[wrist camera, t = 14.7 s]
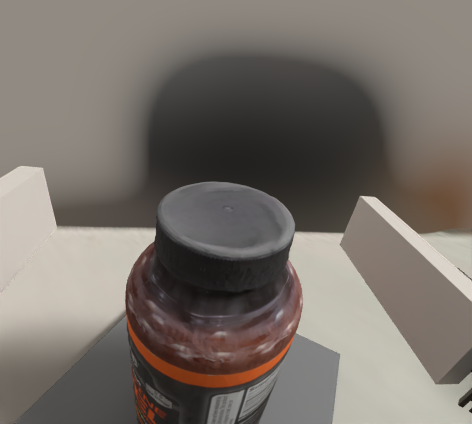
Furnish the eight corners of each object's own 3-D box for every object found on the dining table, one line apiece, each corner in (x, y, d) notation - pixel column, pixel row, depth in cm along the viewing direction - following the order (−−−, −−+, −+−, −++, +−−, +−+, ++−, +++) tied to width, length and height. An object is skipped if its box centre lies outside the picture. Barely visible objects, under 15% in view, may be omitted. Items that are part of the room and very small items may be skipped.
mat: (168, 281, 21) (168, 273, 21) (335, 361, 17) (340, 354, 17) (-38, 487, 10) (-45, 480, 10) (278, 816, 7) (285, 826, 6)
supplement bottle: (118, 386, 14) (85, 182, 8) (214, 329, 17) (239, 159, 11) (174, 530, 10) (189, 336, 4) (283, 418, 13) (372, 231, 8)
